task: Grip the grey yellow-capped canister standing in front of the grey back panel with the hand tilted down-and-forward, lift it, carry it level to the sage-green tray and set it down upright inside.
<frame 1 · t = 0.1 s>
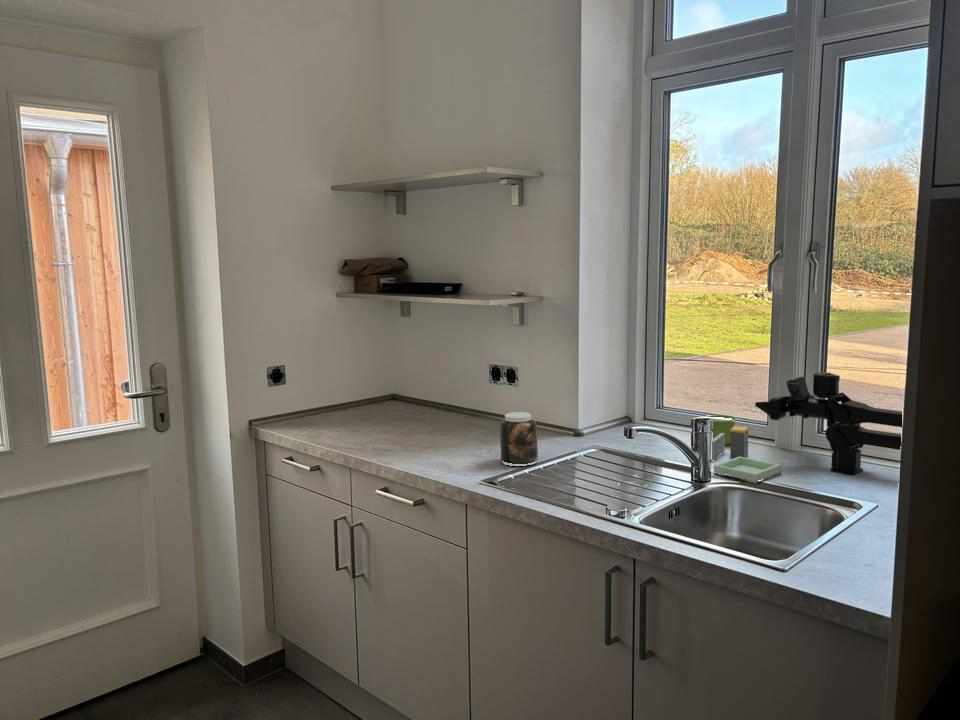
hand: (763, 401, 226), 17 cm above the worktop, tool horizontal, fingers open, 9 cm apart
grey yellow-capped canister: (739, 458, 225), on the worktop
tray: (747, 473, 210), on the worktop
jar: (519, 462, 231), on the worktop
plant pot: (721, 444, 243), on the worktop
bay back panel: (717, 456, 229), on the worktop
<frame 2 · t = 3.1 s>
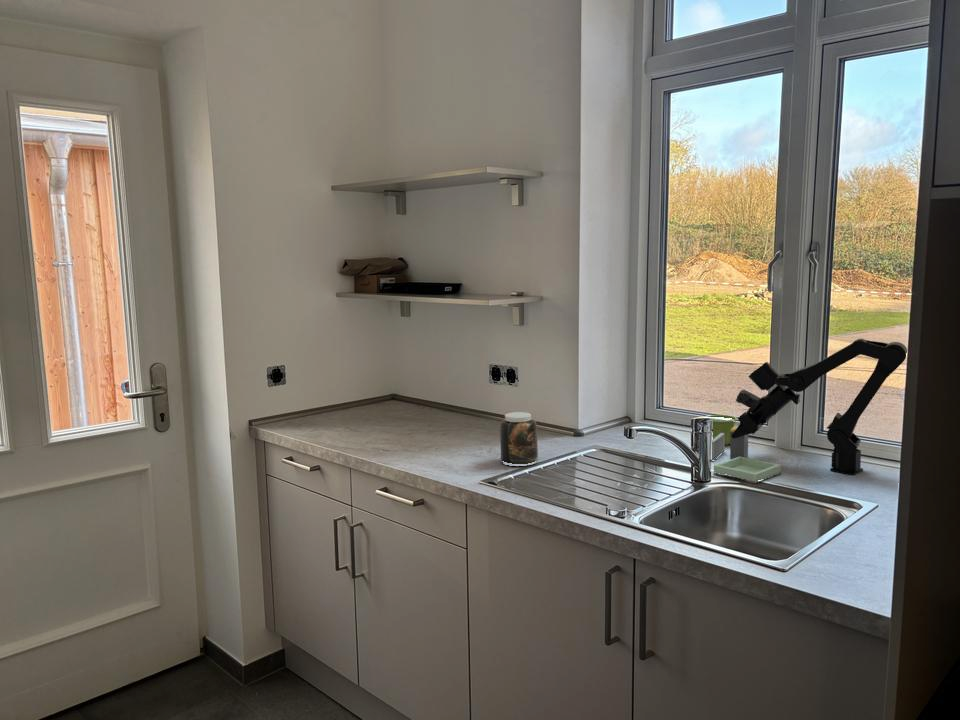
hand: (734, 435, 225), 7 cm above the worktop, tool tilted 45°, fingers closed on grey yellow-capped canister, 5 cm apart
grey yellow-capped canister: (739, 458, 225), on the worktop, touching gripper
everything else where it was.
when the fingers open (8 cm above the worktop, at t = 6.6 s): grey yellow-capped canister stays where it is, resting on tray.
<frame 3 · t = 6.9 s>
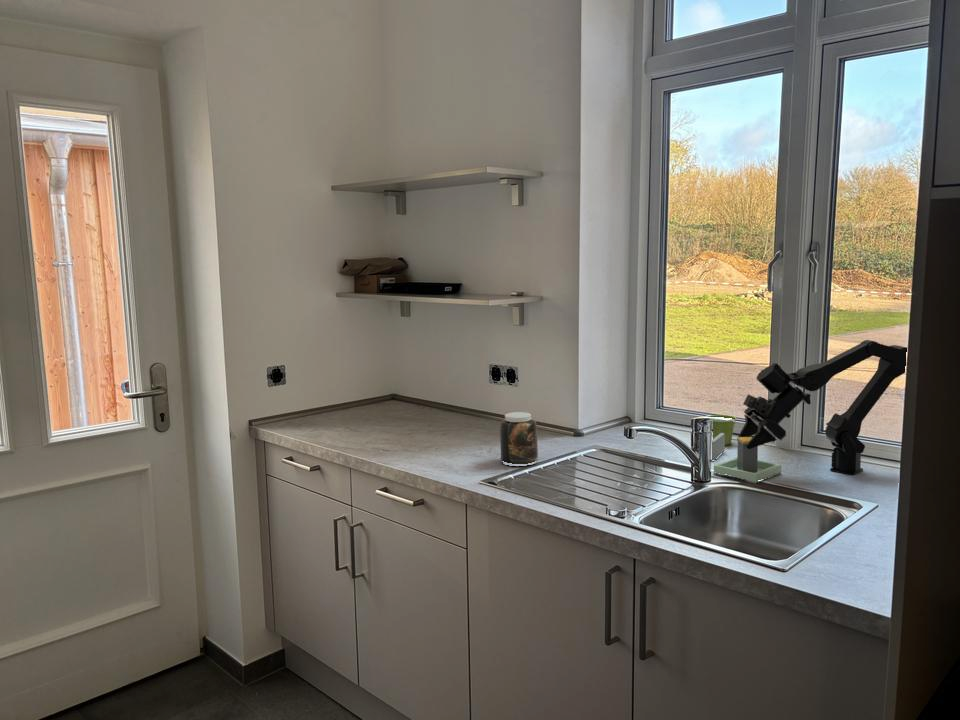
hand: (742, 444, 209), 9 cm above the worktop, tool tilted 45°, fingers open, 8 cm apart
grey yellow-capped canister: (747, 471, 210), resting on tray
everything else where it was.
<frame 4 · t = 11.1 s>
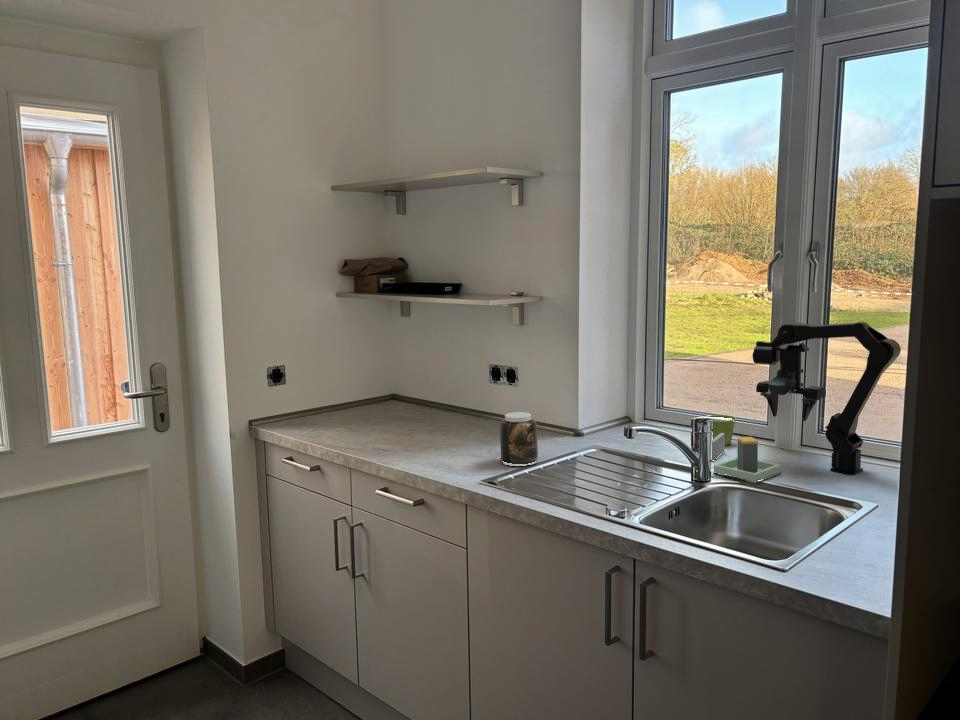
hand: (789, 418, 218), 13 cm above the worktop, tool pointing down, fingers open, 9 cm apart
nothing on the worktop moved.
at the end: grey yellow-capped canister inside the target area on the tray (0.0 cm from its centre), point 0.5 cm above the tray's base; grey yellow-capped canister tilted 0°; the gripper is holding nothing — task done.
